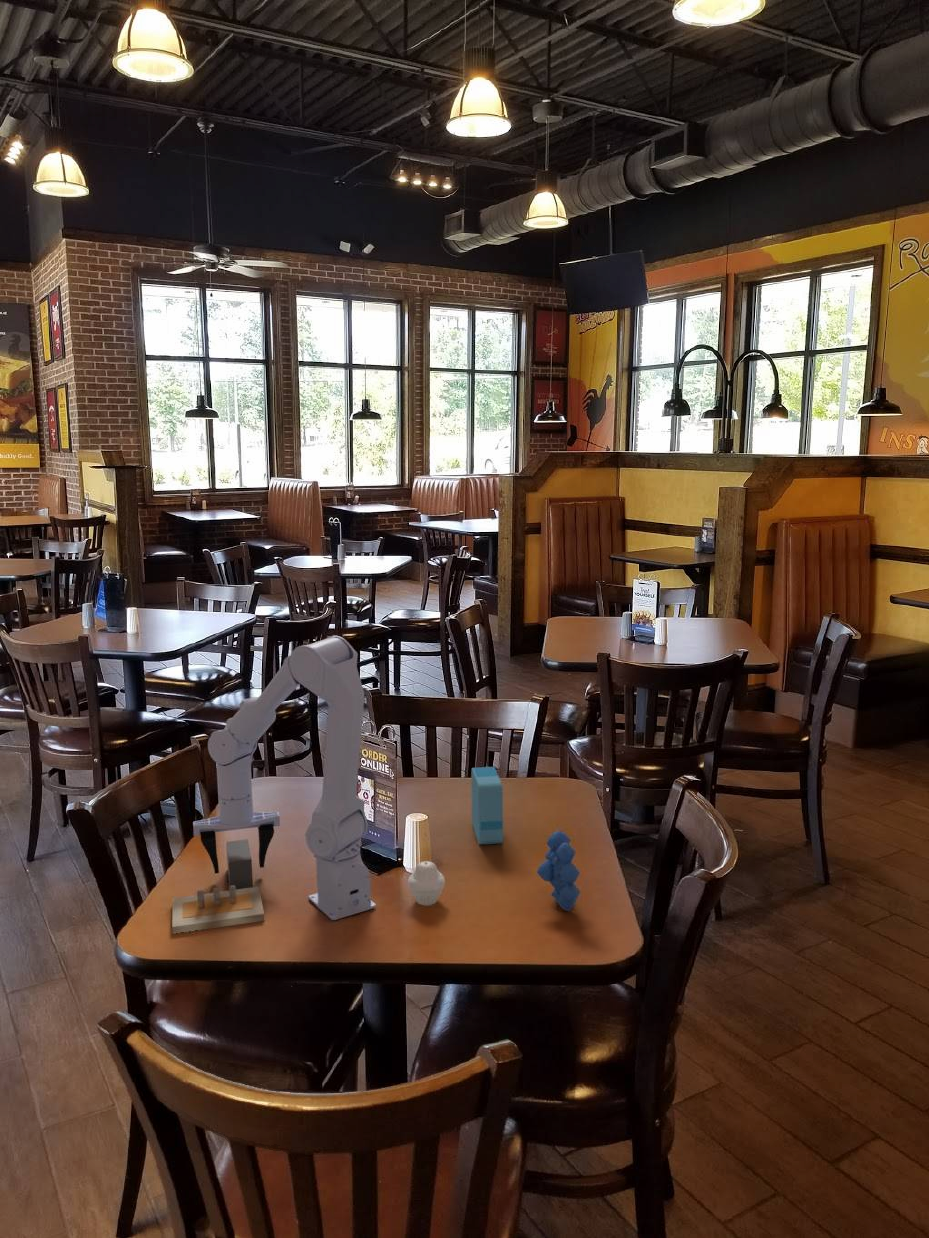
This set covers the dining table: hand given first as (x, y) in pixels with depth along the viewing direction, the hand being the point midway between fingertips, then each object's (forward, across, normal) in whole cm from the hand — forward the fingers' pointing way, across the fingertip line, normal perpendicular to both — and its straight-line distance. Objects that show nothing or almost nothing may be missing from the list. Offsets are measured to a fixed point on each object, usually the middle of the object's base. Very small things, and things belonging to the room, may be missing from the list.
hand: (239, 868), depth 166 cm
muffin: (+2, -29, +18) cm, 35 cm away
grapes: (+2, -49, +26) cm, 56 cm away
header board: (+2, +4, +12) cm, 13 cm away
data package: (+2, -47, -5) cm, 47 cm away
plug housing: (+2, 0, 0) cm, 2 cm away
